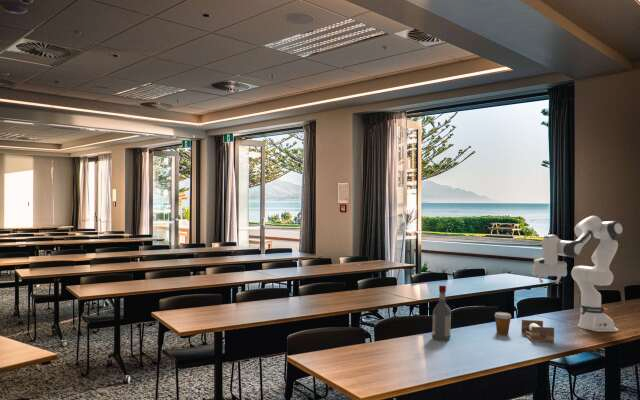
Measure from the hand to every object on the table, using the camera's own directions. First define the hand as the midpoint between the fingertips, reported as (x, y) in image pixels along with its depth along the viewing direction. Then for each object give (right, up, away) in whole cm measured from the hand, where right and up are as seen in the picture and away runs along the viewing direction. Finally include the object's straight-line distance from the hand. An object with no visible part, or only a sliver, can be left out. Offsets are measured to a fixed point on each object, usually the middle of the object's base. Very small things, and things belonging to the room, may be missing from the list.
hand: (549, 283), depth 306 cm
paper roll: (-16, -24, -20) cm, 36 cm away
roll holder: (-16, -29, -20) cm, 38 cm away
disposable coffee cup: (-34, -28, -13) cm, 46 cm away
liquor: (-74, -27, -28) cm, 84 cm away
